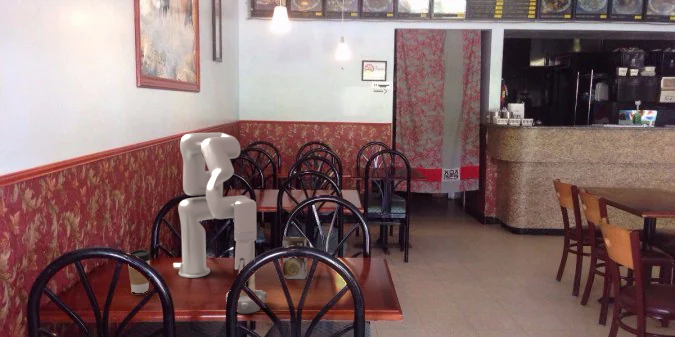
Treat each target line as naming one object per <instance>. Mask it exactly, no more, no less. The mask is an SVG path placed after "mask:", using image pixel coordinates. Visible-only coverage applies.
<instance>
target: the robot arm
mask: <svg viewBox="0 0 675 337" xmlns="http://www.w3.org/2000/svg"><path fill="white" fill-rule="evenodd" d="M179 148H180V153H181V156H182V161H183V163H182V164H183V168H182V169H183V170H182V189H183V192H184V194H186V195H187V196H190V198H185V199H182V200H181V201H180V202H179V204H178V206H177V208H178V215H179V221H180V231H181V232H180V233H181V261H182V262H173V264H172V267H173V269H175V270H176V269H179V271H178V275H179V276H180V277H182V278H187V279H188V278H189V279H195V278H196V279H197V278H201V277H205V276H207V275H209V274H210V273H211V269H210V268H209V267H207V252H206V251H207V249H206V248H207V247H206V246H207V243H206V239H207V238H206V237H207V236H206V230H205V228H204V226H203V225H202V224H201V223H200V221H206V220H214V219H216V220H217V219H218V220H224V219H226V220H227V219H233V222H234V224H233V226H234V227H233V228H234V231H233V233H234V234H233V236H234V242H236V243H235V251H234V255H235V256H234V269H235V270H236V271H238V274H239V273H240V271H241V270H242V269H243V268H244V267H245V266H246V265H247V264H248V263H249V262H250V261H252V260H253V259H254V258H256V257H255V253H256V252H255V251H256V250H255V241H257V236H258V235H257V234H258V233H257V202H256V201H255V200H254V199H250V198H249V197H248V196H246V195H241V194H240V195H232V196H231V195H229V196H223V194H224V193H223V190H224V182H226V181H228V180H229V179H230V178H231V177H232V176H233V175H234V173H235V170H234V169H235V168H234V167H233V164H232V162H231V159H236V158H239V156H240V154H241V144H240V142H239V141H238V139H237V138H236V137H235V136H233V135H230V134H227V133H224V132H190V133H187V134H184V135H183V136H182V137H181V139H180V142H179ZM206 166H207V169H208V170H206ZM203 195H205V196H203ZM191 196H192V197H191ZM193 196H195V197H193ZM196 196H198V197H196ZM254 260H255V259H254ZM246 286H247V287H248V288H249V279H248V281H247V282H246Z"/></svg>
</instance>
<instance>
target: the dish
mask: <svg viewBox="0 0 675 337" xmlns="http://www.w3.org/2000/svg"><path fill="white" fill-rule="evenodd" d="M228 293H229V291H228V292H227V293H226V295H225V302H227V297H228ZM254 293H255V294H256V295H257V296H258V297H259V299H260V300H261V301H263V302H264V303H266V298H267V292H266V291H263V290H262V289H259V290H257V289H256V288H255V292H254ZM259 311H260V308H259V306H258V305H257V304H256V303H255V302H254V301H253V300H251V299H250V298H249V297H248V296H240V298H239V300H238V313H237V314H243V315H244V314H251V313H252V314H253V313H256V312H259Z"/></svg>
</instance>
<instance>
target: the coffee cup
mask: <svg viewBox="0 0 675 337" xmlns="http://www.w3.org/2000/svg"><path fill="white" fill-rule="evenodd" d="M130 253H131V254H133V255H135V256H137V257H139V258H141V259H143V260H144V261H146V262H147V263H148V264H149V265H150V266H151V263H150V262H151V260H152V256H151V253H150V250H148V249H137V250H134V251H131V252H130ZM128 275H129V280H130V288H131V293H132V292H135V293H143V294H145V293H144V292H146V291H148V292H149V290H148V289H149V288H150V287H149V286H150V285H149V284H150V280H149V281H148V280H147V279H146V278H145V277H144V276H143V275H142V274H141V273H140V272H138V271H137V270H135V269H134V268H132V267H130V266H129V265H128ZM146 293H147V292H146Z"/></svg>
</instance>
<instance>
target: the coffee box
mask: <svg viewBox="0 0 675 337" xmlns="http://www.w3.org/2000/svg"><path fill="white" fill-rule="evenodd" d="M307 238H308V237H306V236H285V237H284V238H283V239H282V247H283V246H290V245H299V246H307V245H308V244H307V241H308V240H307ZM307 258H308V257H307ZM307 258H295V257H292V258H283V257H282V274H284V276H285V278H286V279H287V280H290V279H291V280H306V277H307V275H308V273H307V272H308V264H307V263H308V262H307V261H308V259H307Z"/></svg>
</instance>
